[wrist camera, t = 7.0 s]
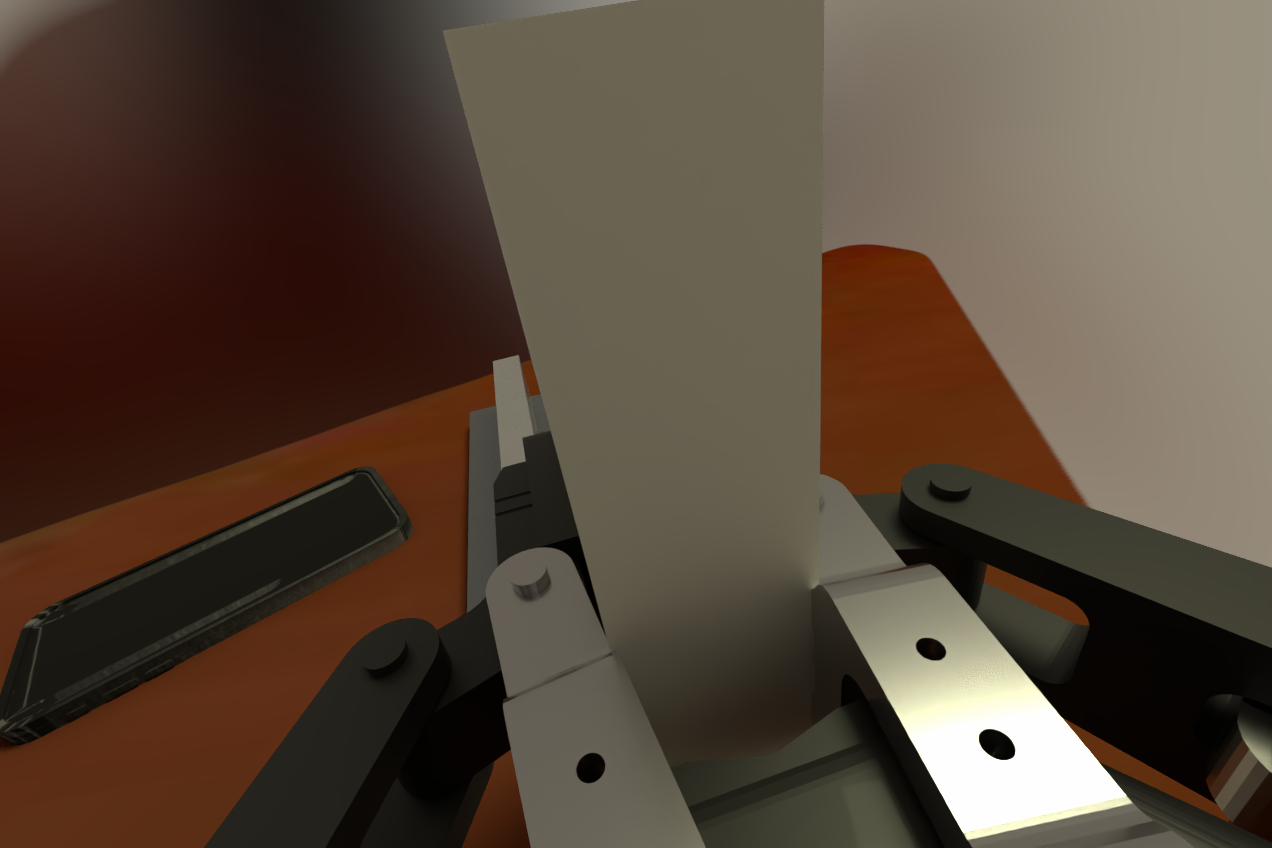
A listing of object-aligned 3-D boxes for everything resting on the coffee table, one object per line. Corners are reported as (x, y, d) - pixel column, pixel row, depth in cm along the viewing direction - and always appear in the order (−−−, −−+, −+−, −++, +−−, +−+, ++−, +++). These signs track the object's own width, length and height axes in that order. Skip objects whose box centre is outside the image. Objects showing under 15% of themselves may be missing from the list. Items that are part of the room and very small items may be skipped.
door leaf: (701, 988, 11) (443, 30, 3) (630, 719, 16) (461, 87, 8) (824, 937, 12) (852, -34, 4) (717, 689, 17) (633, 58, 9)
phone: (25, 616, 25) (369, 461, 32) (43, 633, 25) (377, 477, 32) (-18, 749, 19) (414, 523, 26) (6, 767, 19) (423, 541, 26)
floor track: (475, 666, 19) (436, 583, 17) (474, 426, 35) (454, 367, 33) (796, 565, 21) (794, 478, 19) (660, 378, 36) (651, 319, 34)
